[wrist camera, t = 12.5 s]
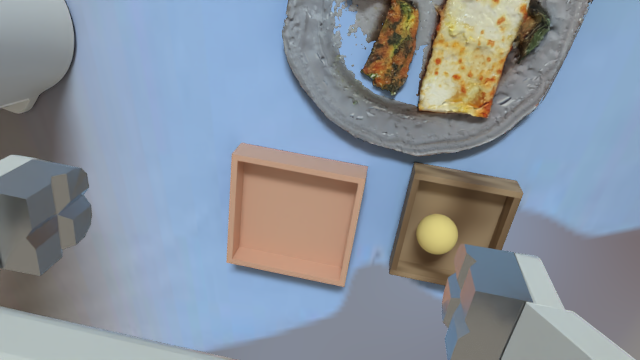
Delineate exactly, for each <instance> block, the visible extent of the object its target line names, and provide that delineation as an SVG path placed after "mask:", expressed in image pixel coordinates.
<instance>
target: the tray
mask: <svg viewBox="0 0 640 360" xmlns="http://www.w3.org/2000/svg"><path fill="white" fill-rule="evenodd" d="M522 195H523V192H522V190H521V188H520V186H519V184H518V182H517V181H515V180H509V179H504V178H499V177H493V176H488V175H482V174H477V173H471V172H466V171H461V170H455V169H450V168H444V167H439V166H433V165H428V164H423V163H417V162H414V165H413V169H412V173H411V177H410V181H409V185H408V189H407V193H406V197H405V201H404V205H403V209H402V213H401V217H400V221H399V225H398V229H397V233H396V237H395V241H394V245H393V249H392V253H391V257H390V269H389V274H392V275H397V276H401V277H406V278H411V279H416V280H421V281H426V282H431V283H436V284H441V285H445V286H446V283H447V279H448V277H450V276H451V275H452V274H454V273H455V272H456V271H455V265H454V258H455V255H456V252H457V249H458V248H459V246H460V244H468V245H473V246H479V247H485V248H491V249H497V250H502V247H503V244H504V242H505V240H506V237H507V234H508V232H509V229H510V227H511V224H512V221H513V219H514V216H515V214H516V211H517V208H518V206H519V203H520V201H521V198H522ZM432 214H442V215H445V216H447V217H449V218H450V219H451V220H452V221H453V222H454V223H455V225H456V227H457V230H458V239H457V242H456V244H455V246H454V247H453V248H452V249H451V250H450V251H449V252H447V253H444V254H431V253H429V252H427V251H425V250H424V249H423V248H422V247H421V246H420V244H419V243H418V240H417V236H416V231H417V227H418V225H419V223H420V222H421V220H422V219H423V218H425V217H426V216H428V215H432Z"/></svg>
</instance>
